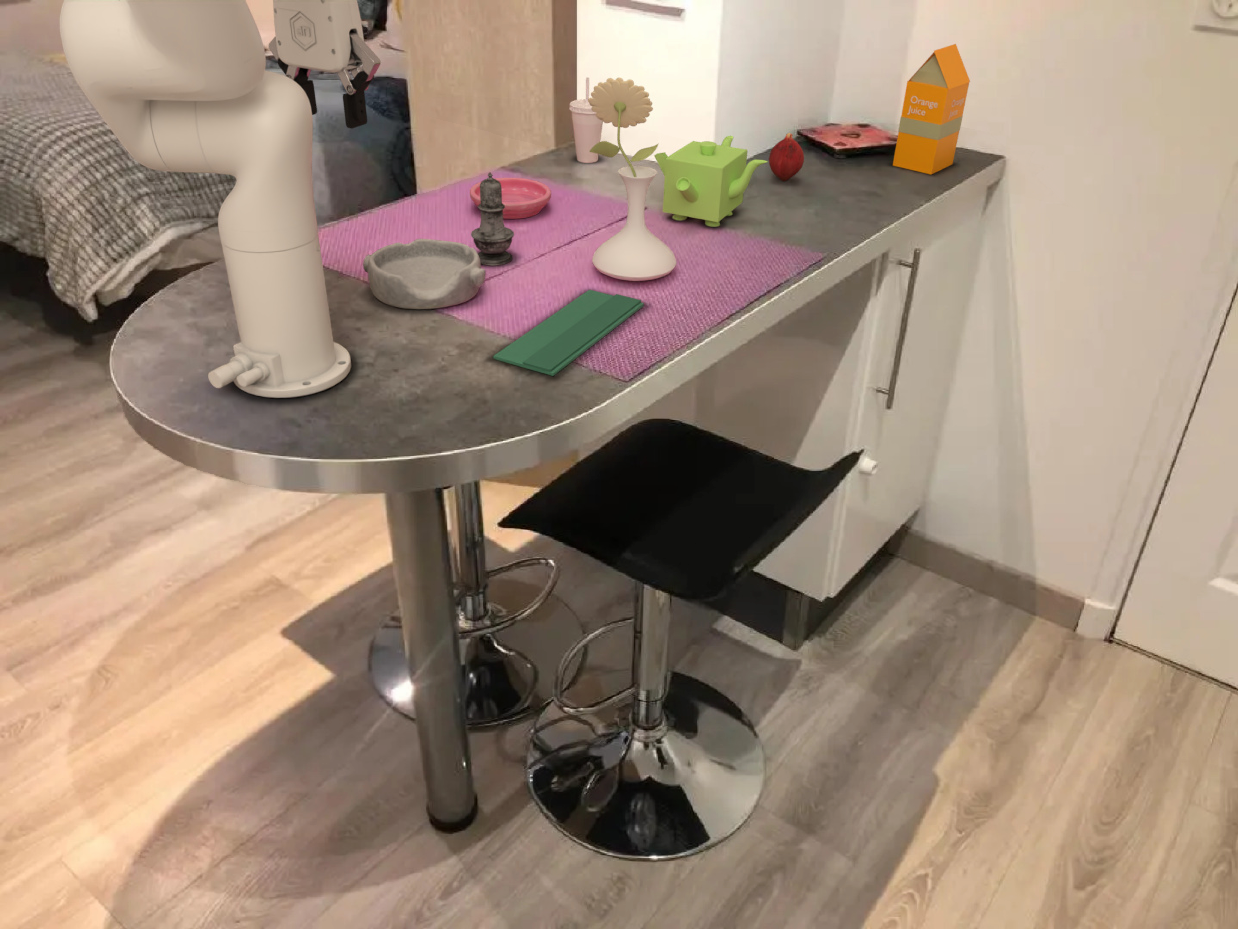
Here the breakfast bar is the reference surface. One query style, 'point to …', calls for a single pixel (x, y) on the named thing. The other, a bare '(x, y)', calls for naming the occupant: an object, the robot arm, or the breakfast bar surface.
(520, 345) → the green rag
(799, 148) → the onion
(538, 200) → the saucer
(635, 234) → the flower in vase
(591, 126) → the smoothie
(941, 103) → the orange juice
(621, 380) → the breakfast bar surface
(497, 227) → the salt shaker
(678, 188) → the kettle
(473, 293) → the dish
